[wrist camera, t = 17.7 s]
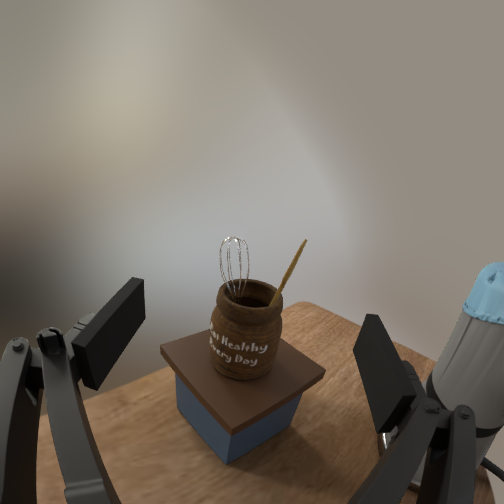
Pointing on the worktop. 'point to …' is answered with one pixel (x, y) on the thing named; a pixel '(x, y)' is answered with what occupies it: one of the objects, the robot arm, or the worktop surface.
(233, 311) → the utensil holder
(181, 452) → the worktop surface
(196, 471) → the worktop surface
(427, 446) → the robot arm
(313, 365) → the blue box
